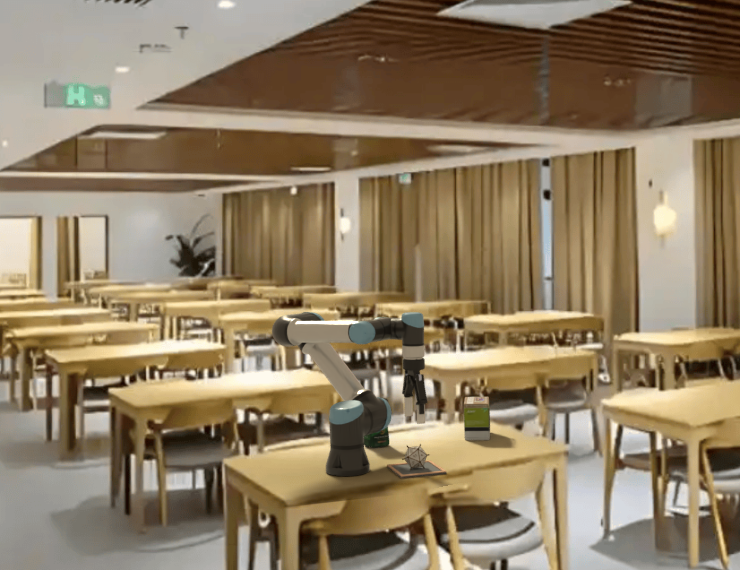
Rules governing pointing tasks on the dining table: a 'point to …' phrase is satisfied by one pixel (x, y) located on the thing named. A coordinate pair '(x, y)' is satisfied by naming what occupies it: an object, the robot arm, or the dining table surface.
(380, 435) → the coffee jar
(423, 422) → the robot arm
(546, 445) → the dining table surface
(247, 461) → the dining table surface
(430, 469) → the mat
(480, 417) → the tea box
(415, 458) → the game die
